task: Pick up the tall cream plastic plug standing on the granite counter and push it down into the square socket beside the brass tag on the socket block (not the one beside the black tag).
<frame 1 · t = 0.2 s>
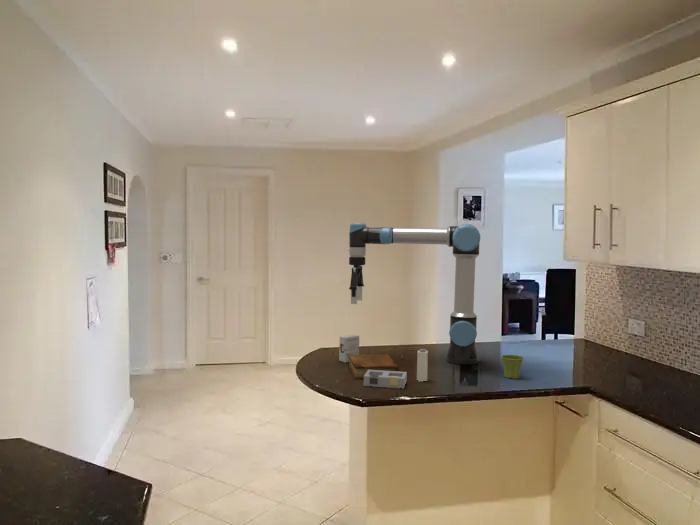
hand: (356, 302, 280), 28 cm above the worktop, tool pointing down, fingers open, 13 cm apart
diary: (372, 373, 263), on the worktop
ink box: (349, 361, 283), on the worktop
plug: (422, 380, 250), on the worktop
socket block: (385, 383, 244), on the worktop
plant pot: (511, 377, 258), on the worktop
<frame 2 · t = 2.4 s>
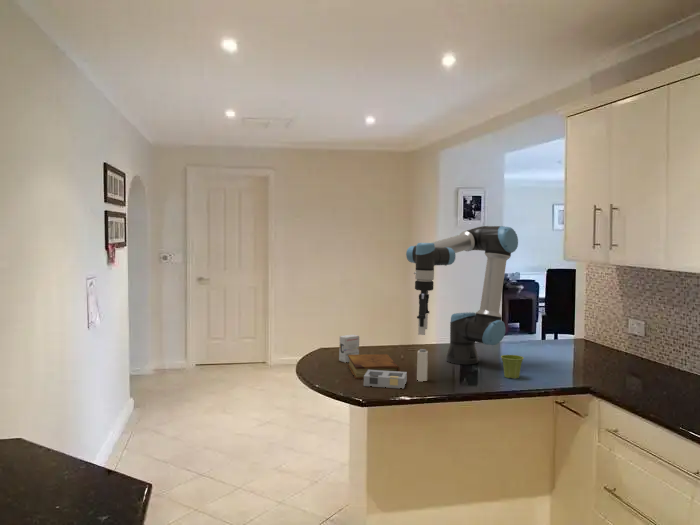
hand: (422, 331, 249), 20 cm above the worktop, tool pointing down, fingers open, 13 cm apart
nothing on the worktop moved.
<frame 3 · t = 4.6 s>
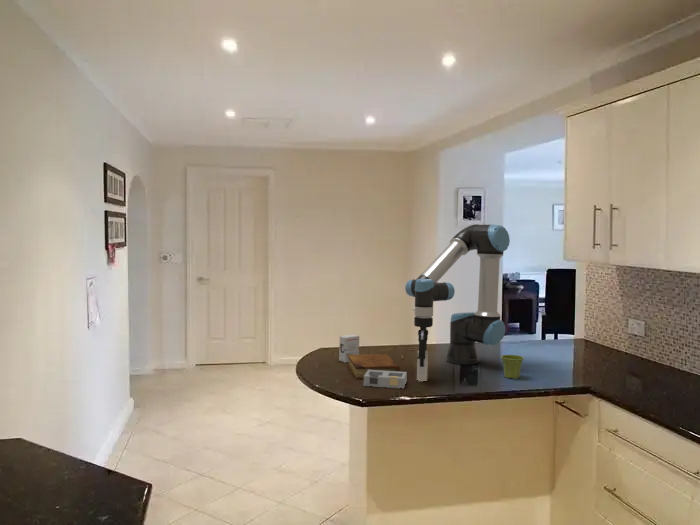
hand: (422, 372, 250), 3 cm above the worktop, tool pointing down, fingers closed on plug, 4 cm apart
plug: (422, 380, 250), on the worktop, touching gripper
everything else where it was.
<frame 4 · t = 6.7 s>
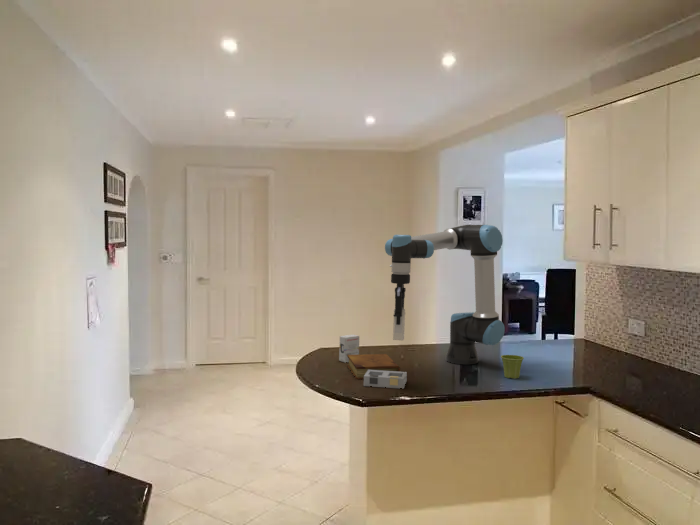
hand: (398, 331, 242), 21 cm above the worktop, tool pointing down, fingers closed on plug, 4 cm apart
plug: (398, 339, 242), point 18 cm above the worktop, touching gripper
everything else where it was.
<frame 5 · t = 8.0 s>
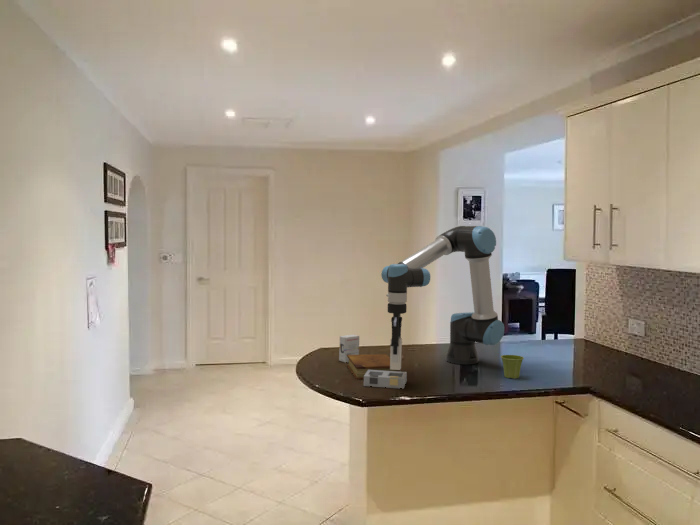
hand: (395, 360, 242), 10 cm above the worktop, tool pointing down, fingers closed on plug, 4 cm apart
plug: (395, 368, 242), point 6 cm above the worktop, touching gripper
everything else where it was.
when the fingers open (6 cm above the worktop, at t = 9.0 s): plug drops 1 cm, resting on socket block.
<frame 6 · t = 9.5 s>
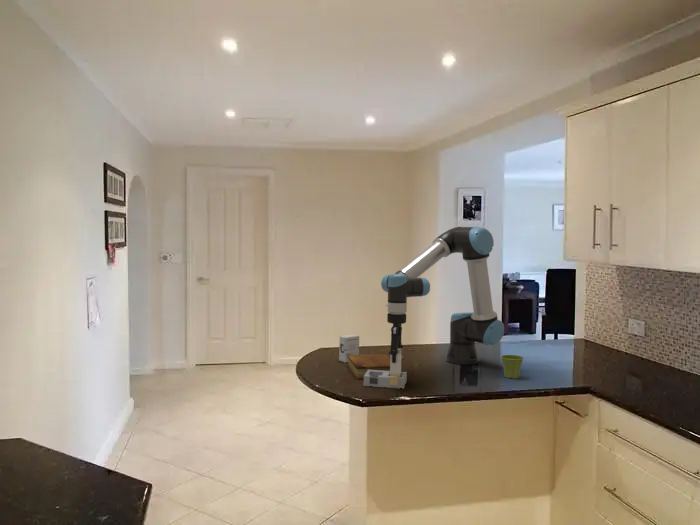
hand: (395, 367, 242), 7 cm above the worktop, tool pointing down, fingers open, 11 cm apart
plug: (395, 381, 243), point 1 cm above the worktop, touching socket block
everything else where it was.
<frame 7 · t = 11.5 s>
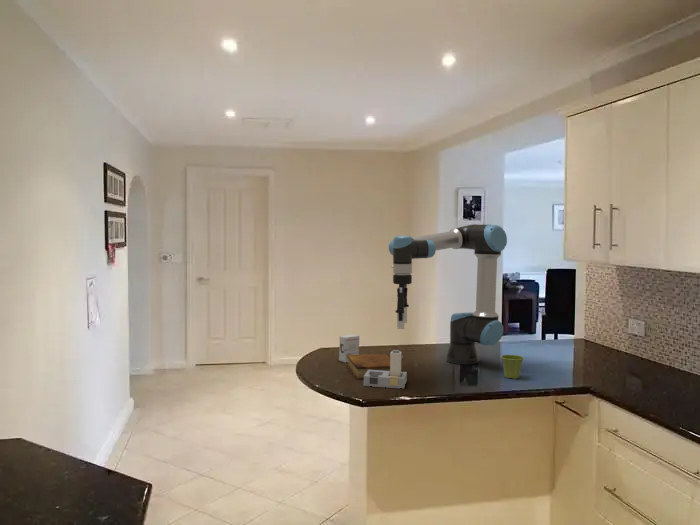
hand: (402, 325, 247), 23 cm above the worktop, tool pointing down, fingers open, 13 cm apart
nothing on the worktop moved.
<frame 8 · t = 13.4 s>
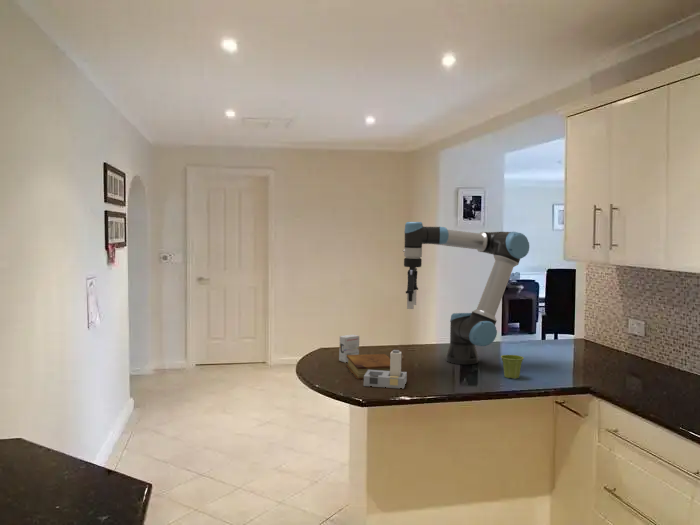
hand: (411, 306, 261), 29 cm above the worktop, tool pointing down, fingers open, 13 cm apart
nothing on the worktop moved.
at the end: plug 0.0 cm from the target spot on the socket block, point 1.0 cm above the socket block's base; plug tilted 0°; the gripper is holding nothing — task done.
